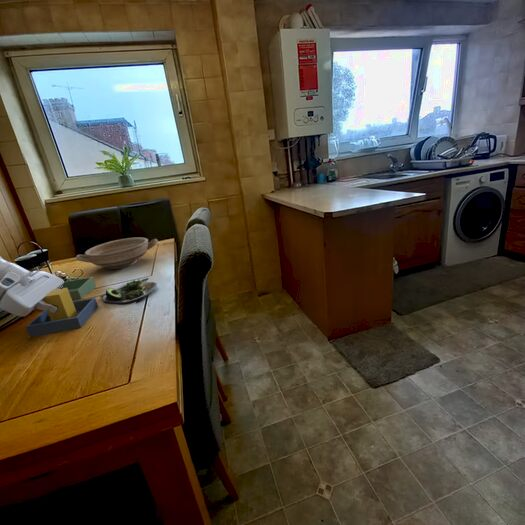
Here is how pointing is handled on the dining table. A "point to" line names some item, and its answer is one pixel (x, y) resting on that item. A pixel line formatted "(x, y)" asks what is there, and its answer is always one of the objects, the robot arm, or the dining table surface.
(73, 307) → the yellow box
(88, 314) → the blue bin
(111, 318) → the dining table surface
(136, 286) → the salad plate
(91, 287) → the green bin
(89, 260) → the ceramic bowl
